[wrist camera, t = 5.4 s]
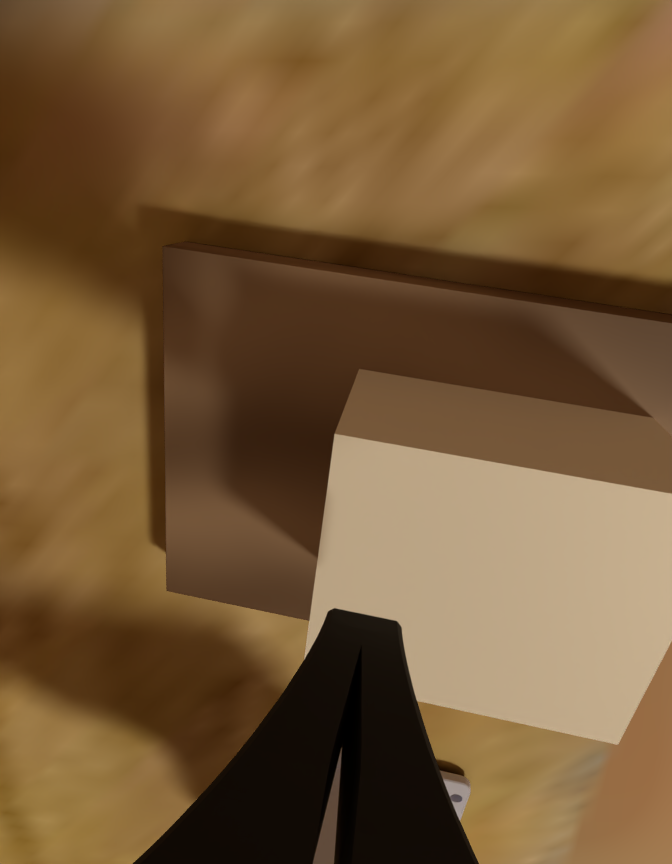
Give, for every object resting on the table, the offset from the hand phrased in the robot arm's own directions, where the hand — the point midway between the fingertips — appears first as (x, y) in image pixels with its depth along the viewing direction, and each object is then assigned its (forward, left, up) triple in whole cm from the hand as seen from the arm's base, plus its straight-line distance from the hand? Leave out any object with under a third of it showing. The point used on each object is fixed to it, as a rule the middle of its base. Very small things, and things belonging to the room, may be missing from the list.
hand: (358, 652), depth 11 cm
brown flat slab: (0, -1, -8) cm, 8 cm away
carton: (0, +1, -4) cm, 5 cm away
